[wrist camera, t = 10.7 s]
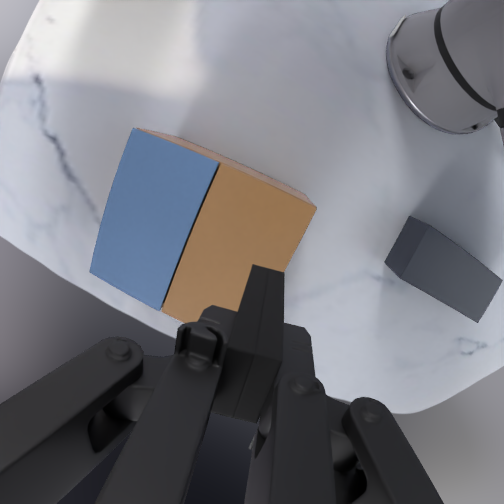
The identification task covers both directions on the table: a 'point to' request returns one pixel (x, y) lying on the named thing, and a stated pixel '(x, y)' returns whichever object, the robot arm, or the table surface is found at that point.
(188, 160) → the flap
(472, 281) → the case
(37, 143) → the table surface
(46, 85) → the table surface
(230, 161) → the carton
